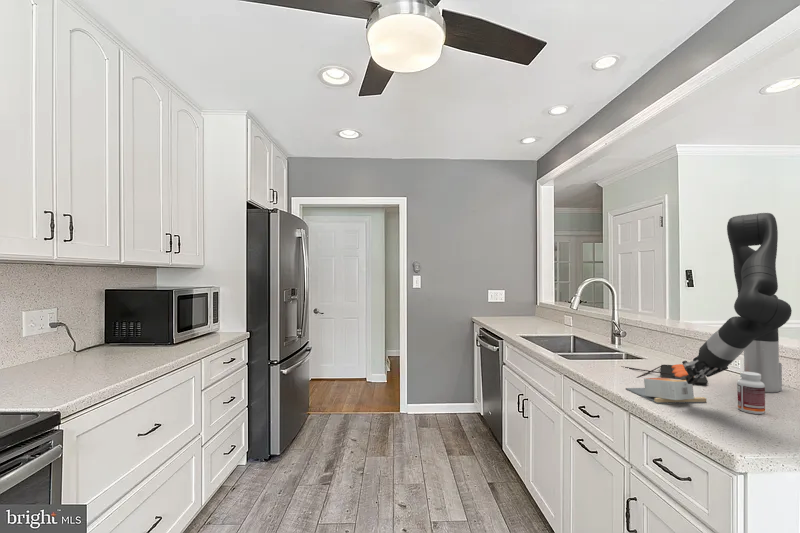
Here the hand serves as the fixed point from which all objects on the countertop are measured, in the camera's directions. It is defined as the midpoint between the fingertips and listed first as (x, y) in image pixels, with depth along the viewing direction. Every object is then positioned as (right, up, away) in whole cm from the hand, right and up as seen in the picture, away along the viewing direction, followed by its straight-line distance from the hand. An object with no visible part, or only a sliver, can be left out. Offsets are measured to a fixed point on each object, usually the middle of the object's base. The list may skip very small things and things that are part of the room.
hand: (688, 381), depth 125 cm
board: (-1, -8, +11) cm, 13 cm away
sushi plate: (+17, -9, +42) cm, 46 cm away
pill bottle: (+15, -8, -4) cm, 18 cm away
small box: (-1, -3, 0) cm, 3 cm away
